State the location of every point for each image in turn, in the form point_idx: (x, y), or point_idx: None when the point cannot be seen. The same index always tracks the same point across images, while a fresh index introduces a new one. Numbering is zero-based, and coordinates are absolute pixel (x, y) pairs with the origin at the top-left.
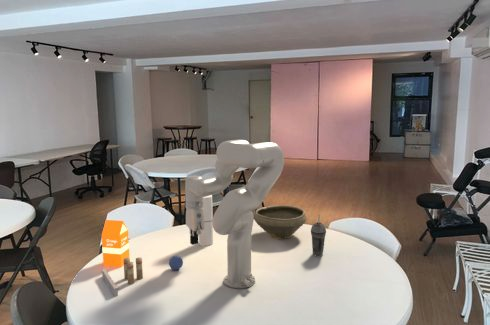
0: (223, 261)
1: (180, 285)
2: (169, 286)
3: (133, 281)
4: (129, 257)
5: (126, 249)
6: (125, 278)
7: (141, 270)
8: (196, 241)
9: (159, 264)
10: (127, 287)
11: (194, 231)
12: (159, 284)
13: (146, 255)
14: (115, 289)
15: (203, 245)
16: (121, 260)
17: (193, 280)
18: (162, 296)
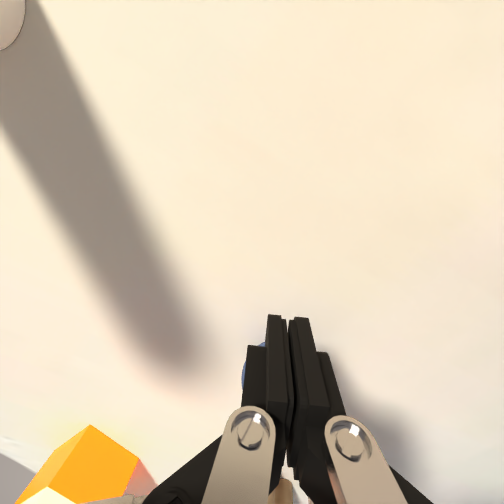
0: (382, 72)
1: (435, 406)
2: (405, 431)
3: (291, 491)
4: (81, 436)
5: (66, 502)
6: None
7: (273, 498)
8: (327, 367)
9: (185, 373)
10: (303, 498)
11: (254, 482)
12: None
13: (62, 369)
14: None
15: (13, 35)
16: (123, 485)
17: (445, 353)
18: (451, 472)
